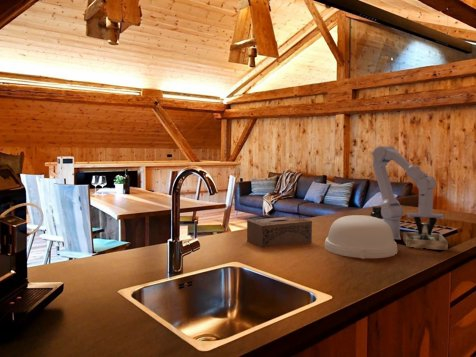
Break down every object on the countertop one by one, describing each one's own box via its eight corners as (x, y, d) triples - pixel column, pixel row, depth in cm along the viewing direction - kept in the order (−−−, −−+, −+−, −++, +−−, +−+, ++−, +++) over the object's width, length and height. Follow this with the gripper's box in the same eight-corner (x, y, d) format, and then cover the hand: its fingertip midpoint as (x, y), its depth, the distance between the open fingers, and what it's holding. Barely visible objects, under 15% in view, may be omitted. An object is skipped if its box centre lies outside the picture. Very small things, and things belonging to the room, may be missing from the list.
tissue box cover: (294, 236, 200) (294, 216, 199) (311, 242, 186) (311, 221, 186) (247, 241, 189) (247, 220, 188) (261, 248, 176) (261, 225, 175)
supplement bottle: (381, 228, 217) (382, 206, 216) (385, 231, 210) (386, 208, 209) (368, 228, 218) (369, 205, 217) (371, 230, 211) (372, 207, 210)
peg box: (406, 247, 177) (406, 239, 176) (403, 239, 192) (403, 231, 192) (447, 250, 172) (447, 241, 172) (440, 241, 187) (440, 234, 187)
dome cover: (403, 261, 156) (404, 225, 155) (323, 257, 163) (324, 222, 161) (391, 242, 187) (392, 211, 186) (324, 239, 194) (325, 209, 193)
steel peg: (420, 239, 181) (420, 223, 181) (419, 238, 184) (420, 222, 184) (429, 239, 180) (429, 224, 179) (428, 238, 183) (428, 223, 183)
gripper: (408, 204, 179) (407, 235, 180) (445, 205, 175) (444, 237, 176) (407, 202, 186) (406, 231, 187) (442, 203, 181) (441, 233, 182)
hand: (424, 234), depth 182 cm, fingers closed on steel peg, 4 cm apart
